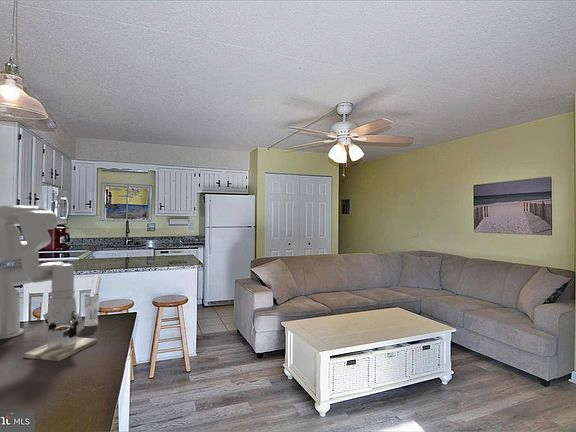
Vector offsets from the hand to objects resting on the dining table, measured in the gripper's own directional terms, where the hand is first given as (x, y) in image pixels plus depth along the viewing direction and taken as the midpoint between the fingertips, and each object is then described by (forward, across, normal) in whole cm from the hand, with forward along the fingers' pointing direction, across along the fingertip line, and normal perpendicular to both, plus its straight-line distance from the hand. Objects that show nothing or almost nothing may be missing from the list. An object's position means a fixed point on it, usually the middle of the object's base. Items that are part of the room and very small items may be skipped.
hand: (62, 336), depth 136 cm
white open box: (+4, 0, 0) cm, 4 cm away
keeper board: (+6, 0, 0) cm, 6 cm away
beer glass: (+6, -12, +30) cm, 32 cm away
